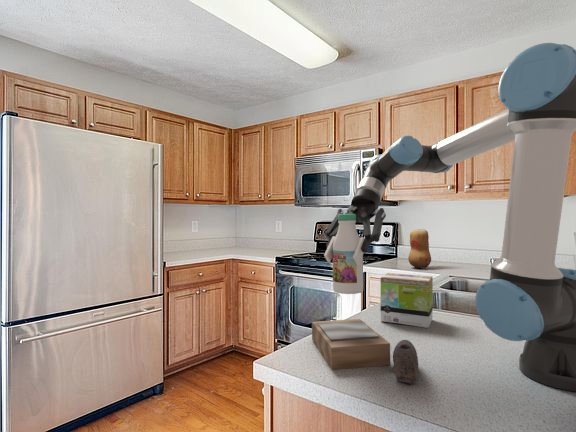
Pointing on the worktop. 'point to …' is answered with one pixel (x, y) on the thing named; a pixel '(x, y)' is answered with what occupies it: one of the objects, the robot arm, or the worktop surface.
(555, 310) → the robot arm
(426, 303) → the tea box
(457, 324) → the worktop surface
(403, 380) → the perforated stone tool
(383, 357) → the walnut stand
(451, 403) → the worktop surface
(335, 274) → the milk bottle
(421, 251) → the butternut squash
